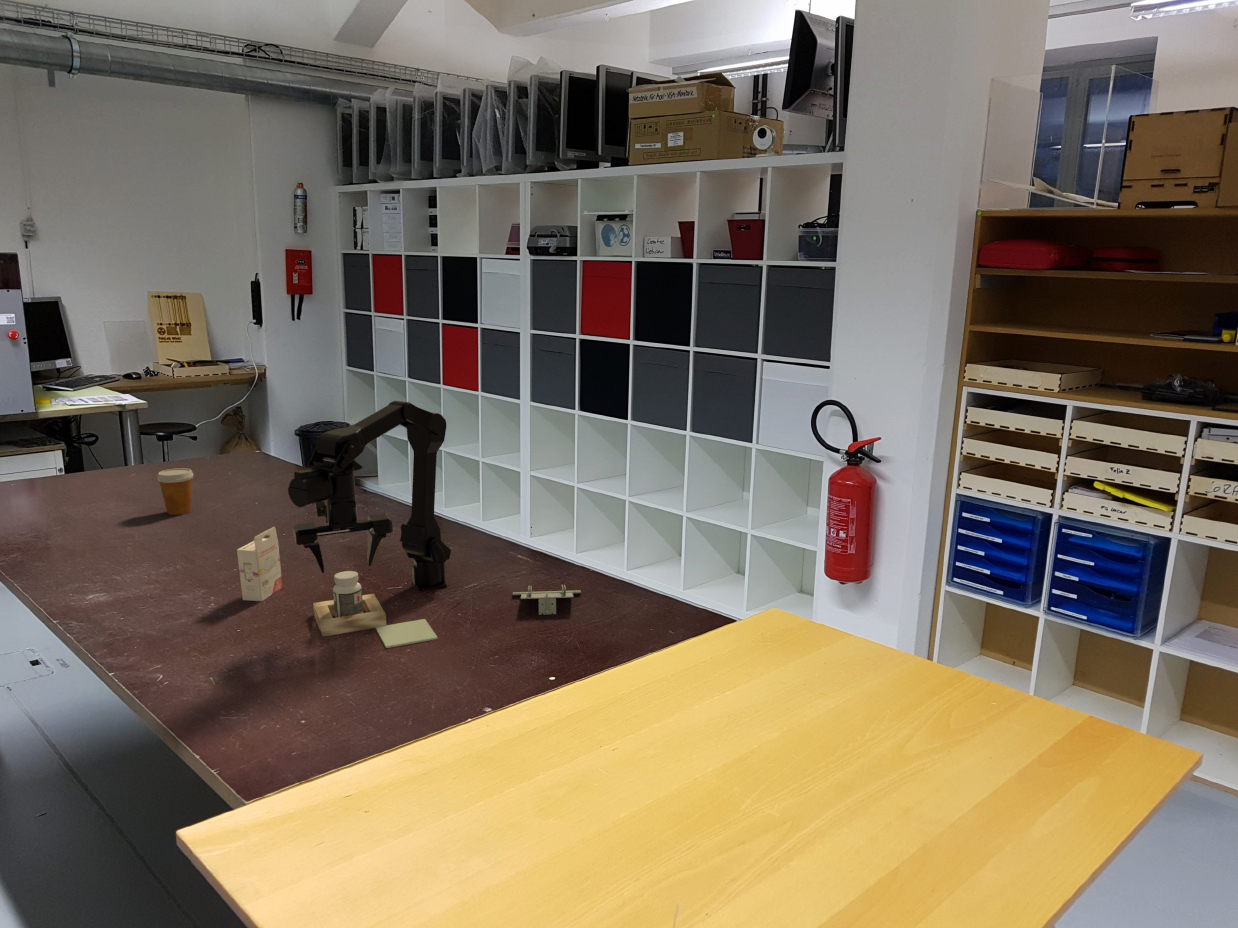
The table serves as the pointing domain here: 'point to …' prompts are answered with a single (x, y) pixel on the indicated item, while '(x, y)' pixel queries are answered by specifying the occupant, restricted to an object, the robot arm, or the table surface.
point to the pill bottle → (347, 594)
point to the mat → (406, 633)
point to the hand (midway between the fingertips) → (346, 568)
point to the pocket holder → (349, 617)
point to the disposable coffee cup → (176, 490)
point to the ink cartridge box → (260, 567)
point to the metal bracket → (546, 598)
